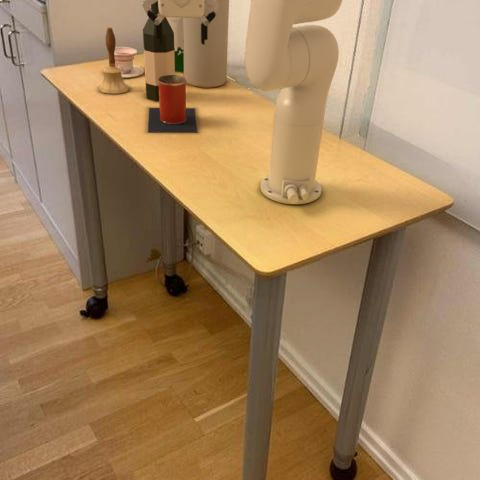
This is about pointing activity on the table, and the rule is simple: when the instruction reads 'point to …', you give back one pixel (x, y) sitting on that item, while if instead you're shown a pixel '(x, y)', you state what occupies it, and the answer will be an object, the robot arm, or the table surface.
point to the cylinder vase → (206, 48)
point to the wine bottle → (157, 54)
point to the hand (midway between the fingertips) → (182, 42)
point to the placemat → (185, 127)
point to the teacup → (126, 62)
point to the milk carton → (178, 42)
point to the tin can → (172, 99)
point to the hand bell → (112, 70)
